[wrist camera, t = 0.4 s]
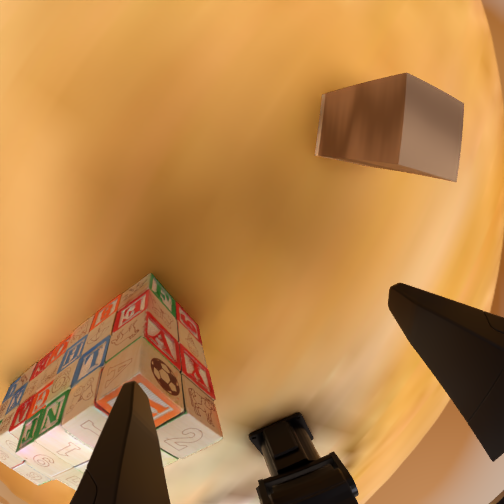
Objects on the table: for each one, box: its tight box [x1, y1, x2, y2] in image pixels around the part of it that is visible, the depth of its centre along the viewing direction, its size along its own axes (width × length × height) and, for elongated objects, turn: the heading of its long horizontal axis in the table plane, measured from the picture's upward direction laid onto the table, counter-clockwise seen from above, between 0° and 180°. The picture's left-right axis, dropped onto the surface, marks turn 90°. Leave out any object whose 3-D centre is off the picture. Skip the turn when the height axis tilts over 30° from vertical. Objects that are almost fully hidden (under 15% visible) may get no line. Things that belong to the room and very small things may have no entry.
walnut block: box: [315, 73, 464, 182], centre depth 18 cm, size 5×5×10 cm
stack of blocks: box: [0, 273, 223, 490], centre depth 18 cm, size 21×6×12 cm, turn 122°
